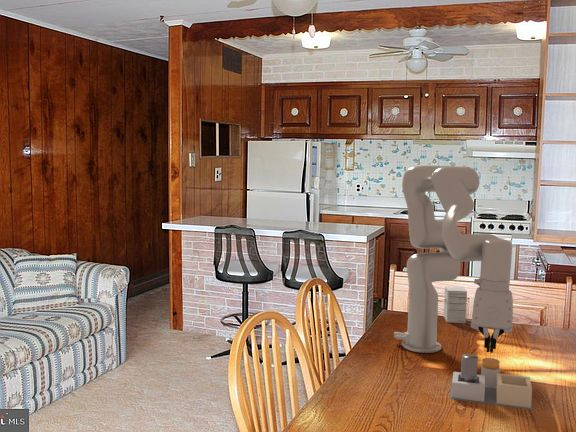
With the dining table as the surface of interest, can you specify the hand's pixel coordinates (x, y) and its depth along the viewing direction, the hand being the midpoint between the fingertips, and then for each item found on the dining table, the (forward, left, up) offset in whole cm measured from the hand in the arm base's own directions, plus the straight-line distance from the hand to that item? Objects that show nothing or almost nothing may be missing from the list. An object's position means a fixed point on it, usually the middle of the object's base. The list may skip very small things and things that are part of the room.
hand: (489, 350), depth 161 cm
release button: (0, -1, -9) cm, 9 cm away
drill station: (0, -6, -11) cm, 12 cm away
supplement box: (-12, +68, -11) cm, 70 cm away
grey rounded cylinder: (-5, -9, -9) cm, 14 cm away
